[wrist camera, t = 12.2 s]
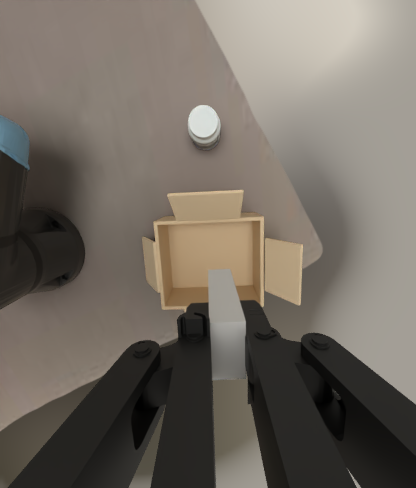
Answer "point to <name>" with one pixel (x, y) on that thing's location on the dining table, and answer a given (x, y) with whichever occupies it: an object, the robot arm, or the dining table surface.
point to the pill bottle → (204, 127)
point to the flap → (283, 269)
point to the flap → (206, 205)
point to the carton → (209, 257)
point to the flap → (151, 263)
